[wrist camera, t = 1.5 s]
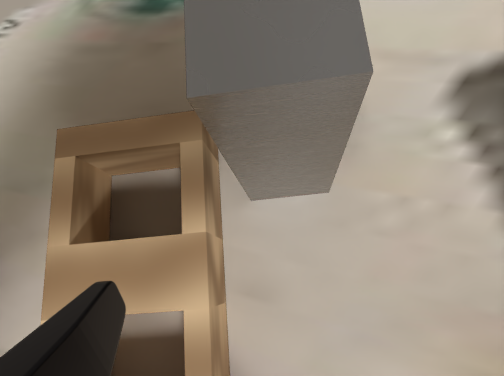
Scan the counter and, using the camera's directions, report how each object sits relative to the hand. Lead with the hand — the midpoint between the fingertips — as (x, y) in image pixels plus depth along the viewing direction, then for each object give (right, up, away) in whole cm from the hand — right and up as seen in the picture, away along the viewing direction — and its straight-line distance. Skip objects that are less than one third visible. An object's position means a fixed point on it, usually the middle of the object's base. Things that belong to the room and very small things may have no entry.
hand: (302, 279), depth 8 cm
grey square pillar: (+1, +3, +14) cm, 15 cm away
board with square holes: (-7, -4, +14) cm, 16 cm away
